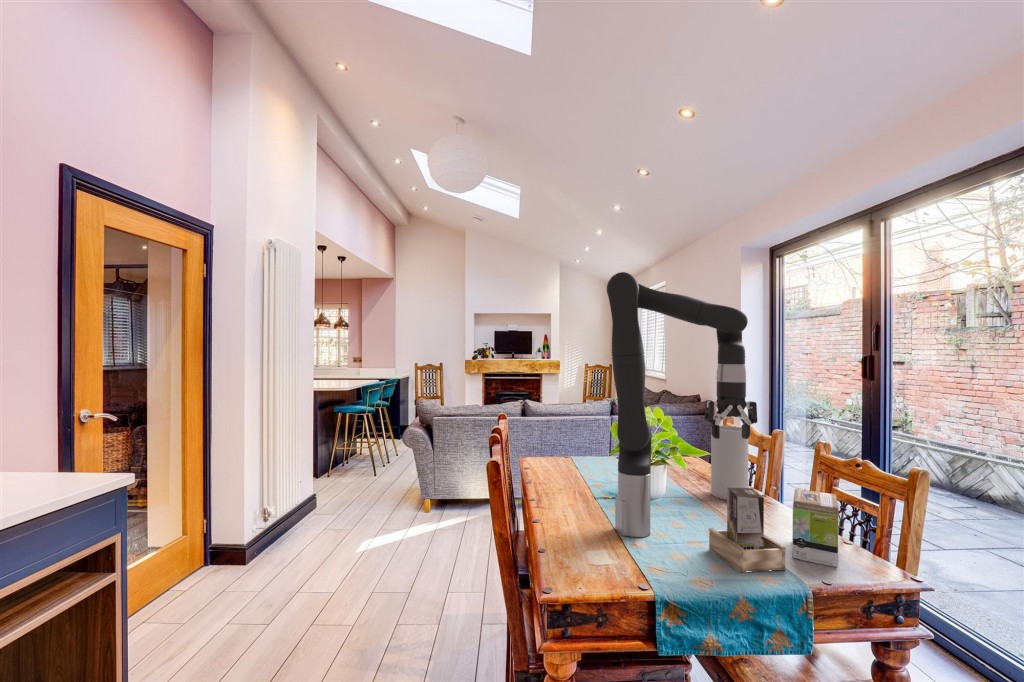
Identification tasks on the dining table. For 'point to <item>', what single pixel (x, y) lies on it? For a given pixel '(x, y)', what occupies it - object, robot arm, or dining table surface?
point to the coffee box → (745, 518)
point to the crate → (747, 553)
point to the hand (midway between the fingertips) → (730, 438)
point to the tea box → (815, 527)
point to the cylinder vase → (728, 461)
